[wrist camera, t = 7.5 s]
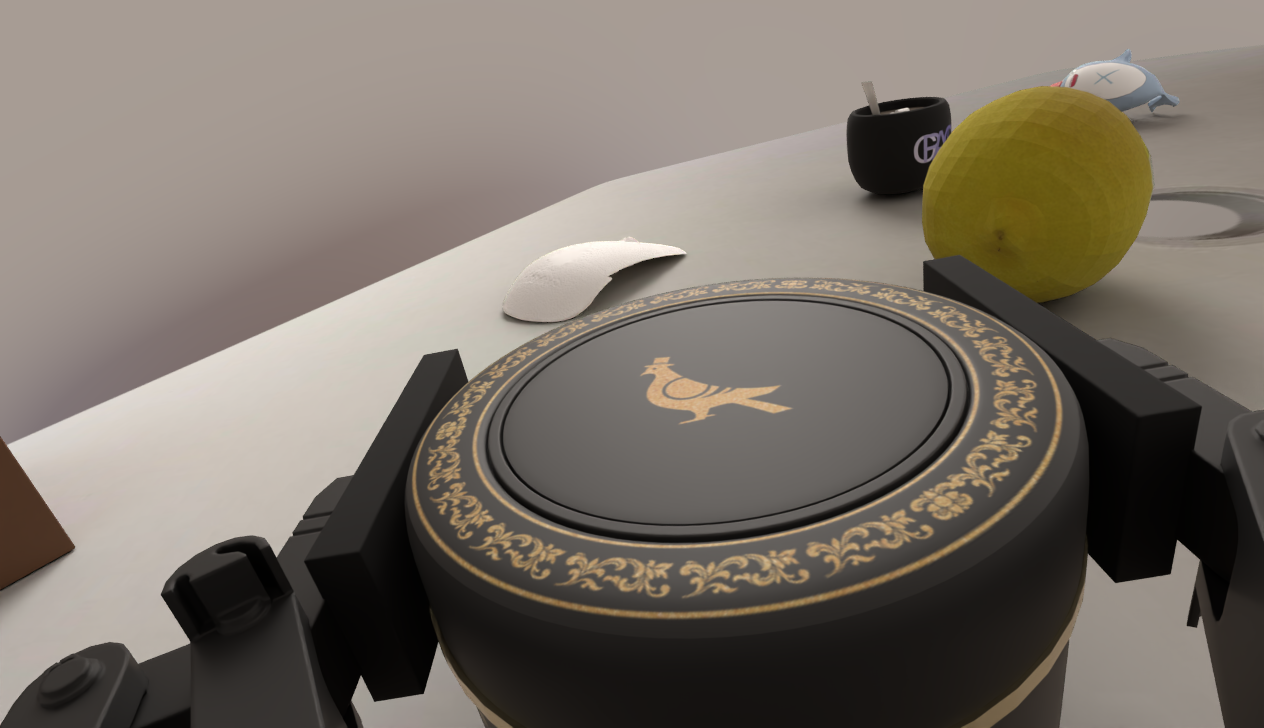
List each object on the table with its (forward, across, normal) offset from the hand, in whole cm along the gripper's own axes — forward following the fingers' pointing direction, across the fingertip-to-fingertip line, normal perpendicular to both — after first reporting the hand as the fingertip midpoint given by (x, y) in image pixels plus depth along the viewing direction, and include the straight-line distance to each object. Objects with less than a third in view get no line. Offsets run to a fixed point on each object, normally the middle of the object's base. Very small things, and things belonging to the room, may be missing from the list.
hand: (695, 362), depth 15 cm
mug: (+34, +18, -6) cm, 39 cm away
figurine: (+41, +35, -6) cm, 54 cm away
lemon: (+14, +15, -6) cm, 21 cm away
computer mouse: (+26, -4, -6) cm, 27 cm away
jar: (-4, 0, -6) cm, 8 cm away
